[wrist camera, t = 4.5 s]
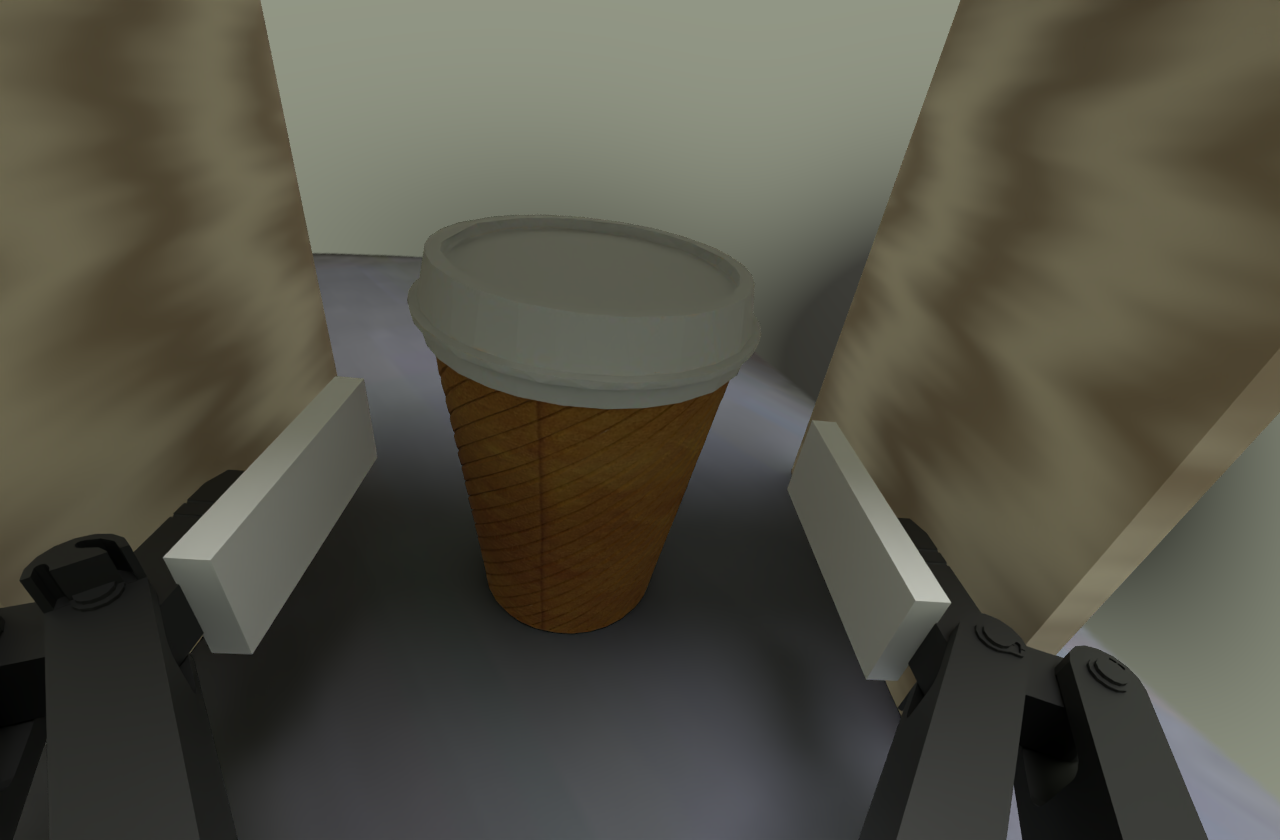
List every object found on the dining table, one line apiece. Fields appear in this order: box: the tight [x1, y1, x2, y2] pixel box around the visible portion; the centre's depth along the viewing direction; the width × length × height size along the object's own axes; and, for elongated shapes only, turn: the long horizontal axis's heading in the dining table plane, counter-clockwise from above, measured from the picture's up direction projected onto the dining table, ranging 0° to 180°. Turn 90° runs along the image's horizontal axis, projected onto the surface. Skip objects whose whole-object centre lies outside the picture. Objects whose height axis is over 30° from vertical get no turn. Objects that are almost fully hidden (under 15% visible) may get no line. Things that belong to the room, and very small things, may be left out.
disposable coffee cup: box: [407, 215, 761, 634], centre depth 17 cm, size 10×10×12 cm
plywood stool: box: [0, 0, 1280, 716], centre depth 14 cm, size 14×24×24 cm, turn 92°
